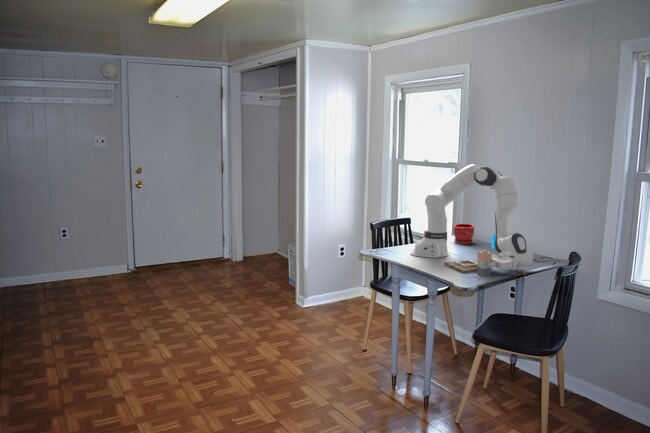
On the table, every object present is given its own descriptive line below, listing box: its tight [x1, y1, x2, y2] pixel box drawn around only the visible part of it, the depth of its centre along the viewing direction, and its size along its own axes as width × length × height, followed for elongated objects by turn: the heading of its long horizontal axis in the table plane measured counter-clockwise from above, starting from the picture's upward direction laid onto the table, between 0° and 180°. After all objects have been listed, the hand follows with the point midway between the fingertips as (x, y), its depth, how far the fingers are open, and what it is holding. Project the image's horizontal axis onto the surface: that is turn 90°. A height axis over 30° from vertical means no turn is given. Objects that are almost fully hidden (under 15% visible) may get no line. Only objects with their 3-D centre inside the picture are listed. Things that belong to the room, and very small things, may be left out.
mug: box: [491, 233, 496, 250], centre depth 329 cm, size 12×8×8 cm
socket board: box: [443, 259, 478, 274], centre depth 285 cm, size 18×18×3 cm
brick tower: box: [476, 249, 493, 277], centre depth 270 cm, size 5×5×13 cm
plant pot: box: [453, 223, 475, 245], centre depth 345 cm, size 13×13×12 cm
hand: (483, 262), depth 270 cm, fingers closed on brick tower, 5 cm apart
